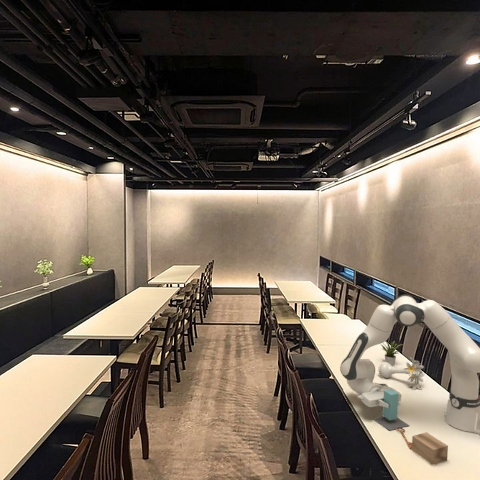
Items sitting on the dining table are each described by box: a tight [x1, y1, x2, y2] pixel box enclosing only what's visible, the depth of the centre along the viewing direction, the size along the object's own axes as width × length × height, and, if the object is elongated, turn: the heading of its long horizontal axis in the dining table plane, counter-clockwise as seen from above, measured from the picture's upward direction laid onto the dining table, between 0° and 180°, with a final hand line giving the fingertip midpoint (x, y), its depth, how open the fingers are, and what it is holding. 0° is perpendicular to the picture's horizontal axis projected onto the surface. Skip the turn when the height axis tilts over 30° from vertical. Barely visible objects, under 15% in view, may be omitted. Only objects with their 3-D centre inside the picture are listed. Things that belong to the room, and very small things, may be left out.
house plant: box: [380, 340, 404, 367], centre depth 246 cm, size 14×14×16 cm
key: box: [396, 427, 412, 450], centre depth 160 cm, size 6×1×15 cm
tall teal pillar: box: [382, 390, 399, 420], centre depth 174 cm, size 4×4×12 cm
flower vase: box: [377, 356, 425, 391], centre depth 219 cm, size 13×18×25 cm
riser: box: [411, 432, 449, 466], centre depth 149 cm, size 8×10×6 cm
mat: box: [373, 416, 410, 432], centre depth 173 cm, size 12×10×1 cm
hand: (393, 405), depth 172 cm, fingers closed on tall teal pillar, 4 cm apart
